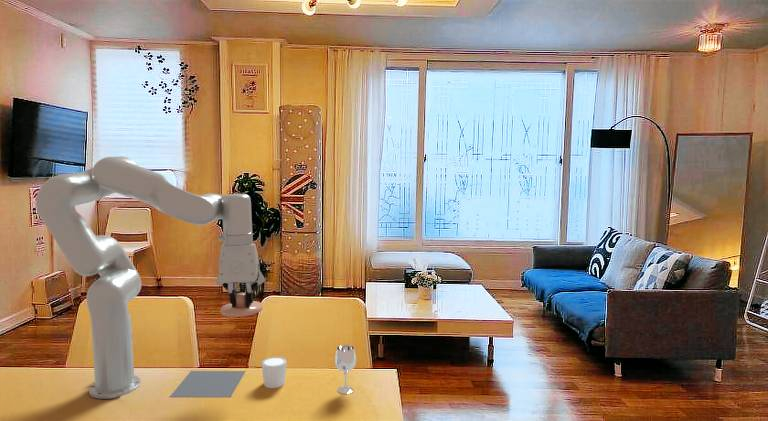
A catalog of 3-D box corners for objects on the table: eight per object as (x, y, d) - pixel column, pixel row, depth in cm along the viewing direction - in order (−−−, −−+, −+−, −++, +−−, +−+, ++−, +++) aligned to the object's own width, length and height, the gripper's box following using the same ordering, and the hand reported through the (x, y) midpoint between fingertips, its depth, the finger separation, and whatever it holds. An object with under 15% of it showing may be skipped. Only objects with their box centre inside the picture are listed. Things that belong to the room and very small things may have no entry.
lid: (213, 310, 143) (212, 294, 142) (248, 301, 150) (248, 286, 150) (234, 319, 135) (233, 302, 134) (270, 309, 143) (269, 293, 142)
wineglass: (352, 396, 140) (353, 353, 138) (332, 393, 141) (332, 351, 139) (358, 386, 145) (358, 345, 144) (338, 384, 146) (338, 343, 145)
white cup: (257, 385, 145) (256, 361, 144) (277, 377, 150) (277, 354, 149) (271, 393, 141) (270, 368, 140) (292, 385, 146) (291, 361, 145)
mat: (169, 399, 137) (169, 396, 137) (191, 372, 153) (191, 370, 153) (230, 399, 137) (230, 397, 137) (245, 372, 153) (245, 371, 153)
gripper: (203, 243, 136) (207, 310, 139) (265, 241, 136) (268, 309, 139) (212, 237, 144) (216, 302, 146) (271, 236, 144) (274, 301, 146)
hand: (241, 305), depth 142 cm, fingers closed on lid, 3 cm apart
